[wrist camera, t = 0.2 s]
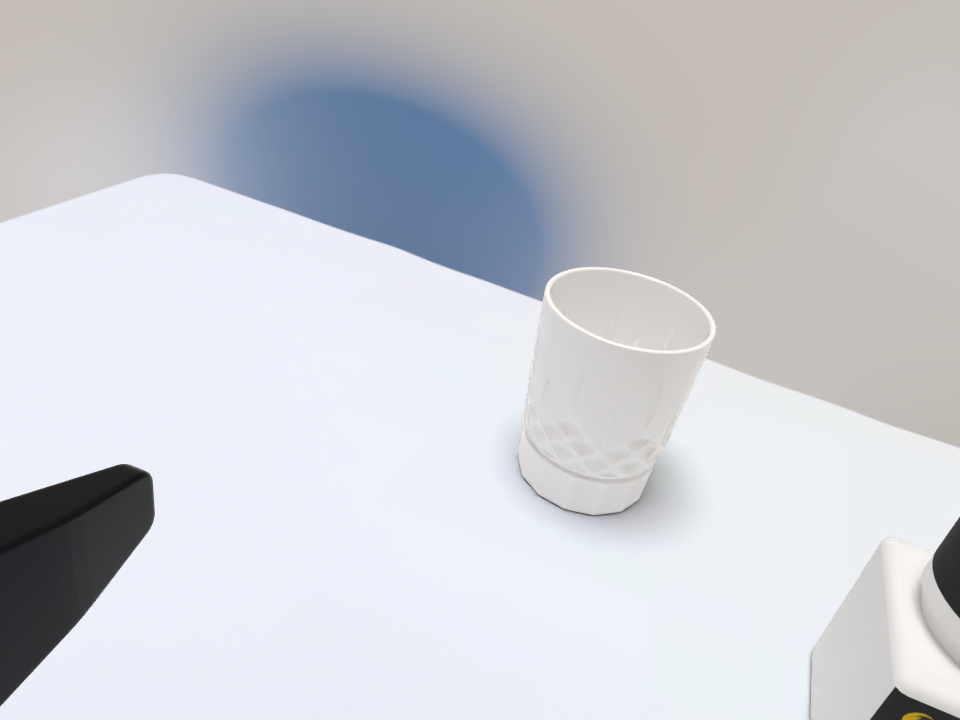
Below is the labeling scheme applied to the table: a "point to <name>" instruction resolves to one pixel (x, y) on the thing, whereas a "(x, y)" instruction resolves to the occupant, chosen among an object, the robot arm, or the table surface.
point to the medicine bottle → (894, 639)
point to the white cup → (607, 384)
